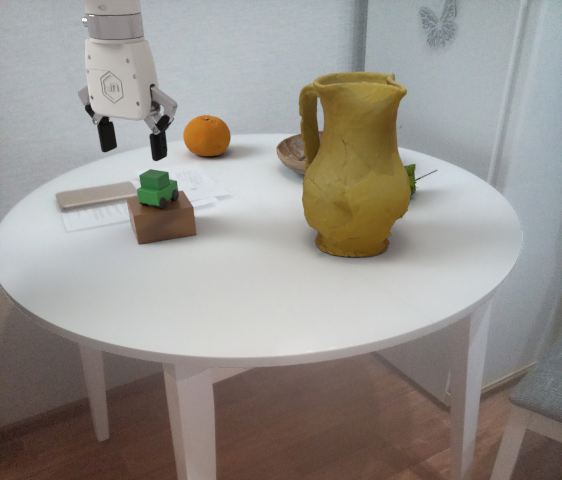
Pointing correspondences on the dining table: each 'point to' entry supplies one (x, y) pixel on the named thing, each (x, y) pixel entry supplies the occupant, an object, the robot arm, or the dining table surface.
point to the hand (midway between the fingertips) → (134, 154)
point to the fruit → (207, 136)
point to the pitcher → (353, 162)
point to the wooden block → (162, 219)
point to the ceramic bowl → (293, 153)
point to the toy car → (157, 188)
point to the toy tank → (413, 176)
